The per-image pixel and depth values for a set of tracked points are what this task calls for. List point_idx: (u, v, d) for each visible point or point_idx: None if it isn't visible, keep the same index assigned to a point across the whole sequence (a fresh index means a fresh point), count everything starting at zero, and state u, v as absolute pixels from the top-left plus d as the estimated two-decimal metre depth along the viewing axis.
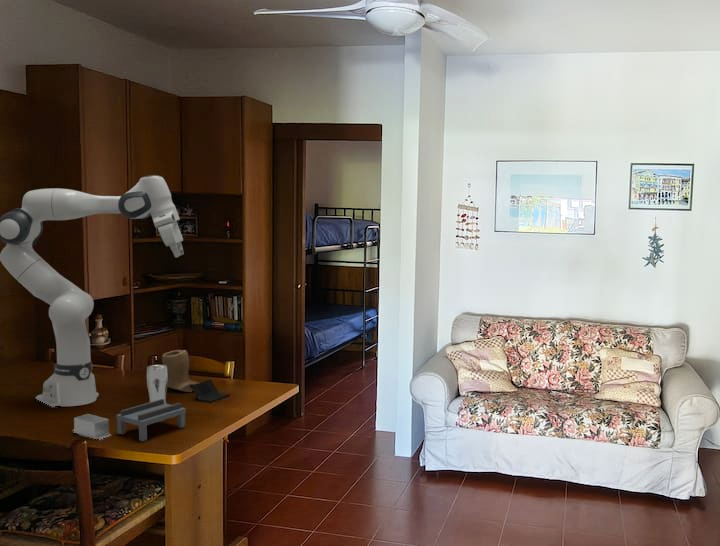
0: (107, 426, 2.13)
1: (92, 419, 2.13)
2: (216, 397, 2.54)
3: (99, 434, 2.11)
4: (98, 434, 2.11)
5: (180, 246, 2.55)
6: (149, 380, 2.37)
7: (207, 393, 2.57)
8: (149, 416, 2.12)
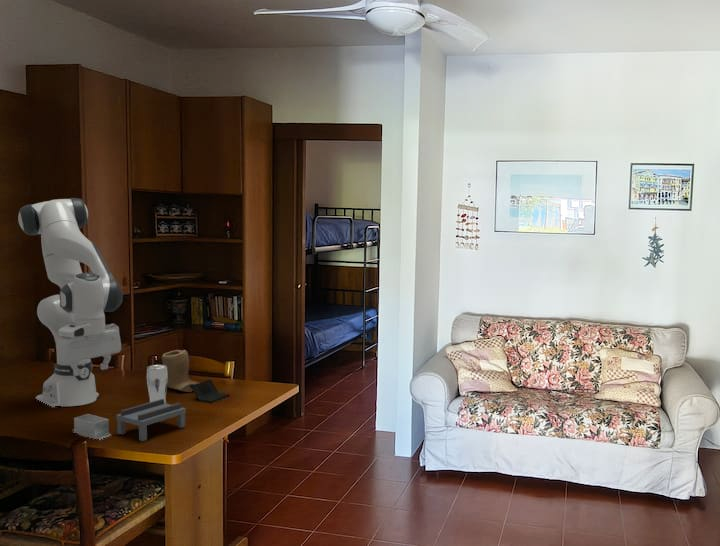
0: (107, 426, 2.13)
1: (92, 419, 2.13)
2: (216, 397, 2.54)
3: (99, 434, 2.11)
4: (98, 434, 2.11)
5: (107, 359, 2.17)
6: (149, 380, 2.37)
7: (207, 393, 2.57)
8: (149, 416, 2.12)
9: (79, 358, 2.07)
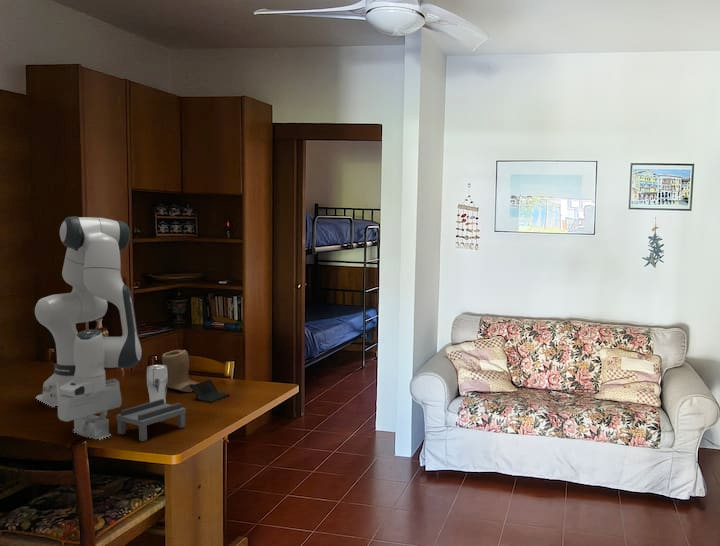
0: (107, 426, 2.13)
1: (92, 419, 2.13)
2: (216, 397, 2.54)
3: (99, 434, 2.11)
4: (98, 434, 2.11)
5: (103, 415, 2.17)
6: (149, 380, 2.37)
7: (207, 393, 2.57)
8: (149, 416, 2.12)
9: (79, 416, 2.09)
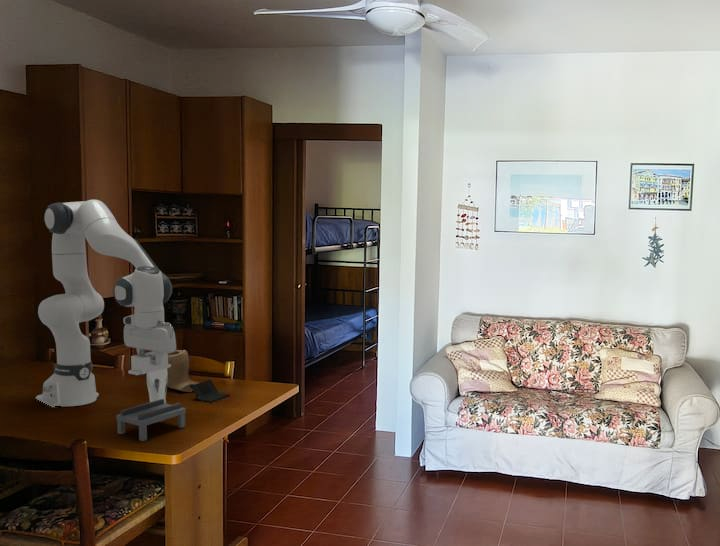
0: (141, 364, 2.12)
1: (144, 354, 2.16)
2: (216, 397, 2.54)
3: (134, 369, 2.13)
4: (134, 368, 2.13)
5: None
6: (149, 380, 2.37)
7: (207, 393, 2.57)
8: (149, 416, 2.12)
9: (134, 345, 2.18)
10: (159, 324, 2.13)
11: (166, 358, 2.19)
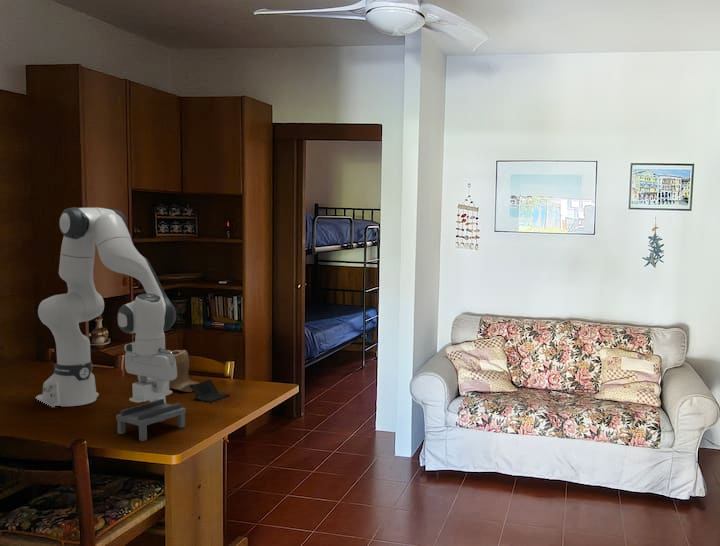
0: (142, 392, 2.12)
1: (145, 381, 2.17)
2: (216, 397, 2.54)
3: (136, 396, 2.14)
4: (135, 395, 2.14)
5: None
6: None
7: (207, 393, 2.57)
8: (149, 416, 2.12)
9: (135, 372, 2.19)
10: (160, 352, 2.13)
11: (167, 385, 2.20)
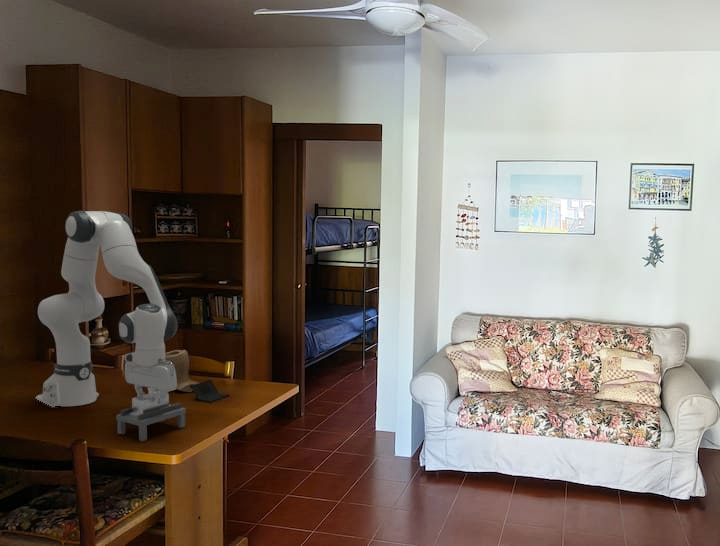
0: (141, 407, 2.13)
1: (145, 396, 2.17)
2: (216, 397, 2.54)
3: (135, 411, 2.15)
4: (135, 410, 2.15)
5: None
6: None
7: (207, 393, 2.57)
8: (149, 416, 2.12)
9: (135, 382, 2.19)
10: (160, 362, 2.14)
11: (167, 399, 2.20)
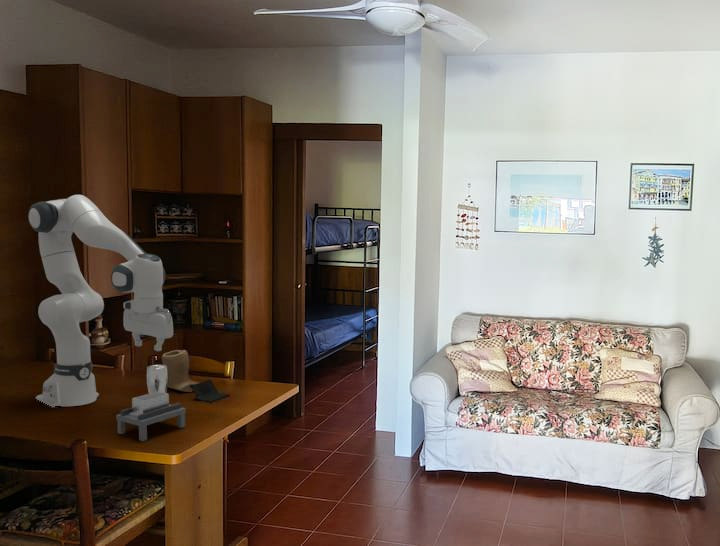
0: (141, 407, 2.13)
1: (145, 396, 2.17)
2: (216, 397, 2.54)
3: (135, 411, 2.15)
4: (135, 410, 2.15)
5: None
6: (149, 380, 2.37)
7: (207, 393, 2.57)
8: (149, 416, 2.12)
9: (133, 330, 2.25)
10: (157, 310, 2.19)
11: (167, 399, 2.20)
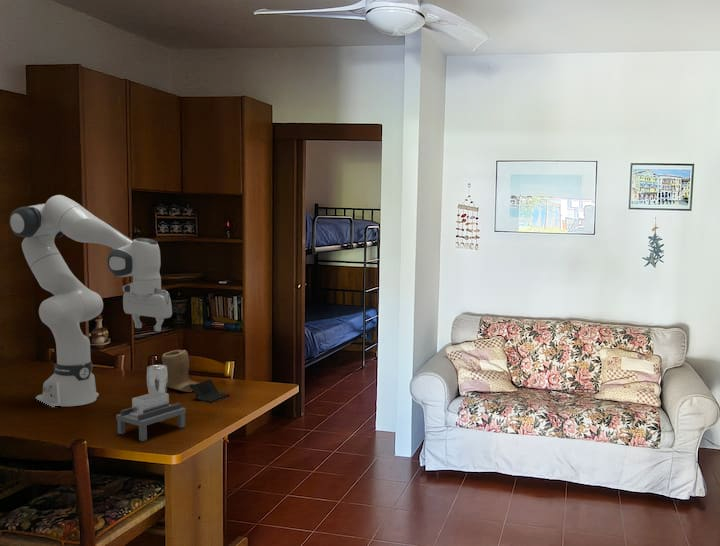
0: (141, 407, 2.13)
1: (145, 396, 2.17)
2: (216, 397, 2.54)
3: (135, 411, 2.15)
4: (135, 410, 2.15)
5: None
6: (149, 380, 2.37)
7: (207, 393, 2.57)
8: (149, 416, 2.12)
9: (133, 312, 2.32)
10: (156, 291, 2.27)
11: (167, 399, 2.20)
